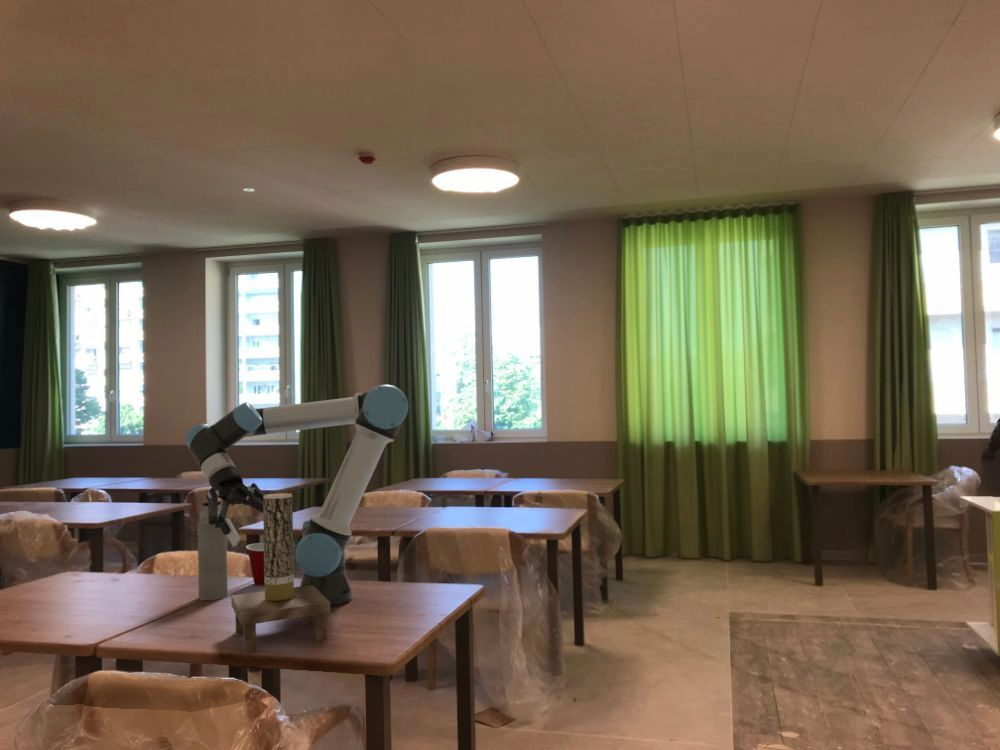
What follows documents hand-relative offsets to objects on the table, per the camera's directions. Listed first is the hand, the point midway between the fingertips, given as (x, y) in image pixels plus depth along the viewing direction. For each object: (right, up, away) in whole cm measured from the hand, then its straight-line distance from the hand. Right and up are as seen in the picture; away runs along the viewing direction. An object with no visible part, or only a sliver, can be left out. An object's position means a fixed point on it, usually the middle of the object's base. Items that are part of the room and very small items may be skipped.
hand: (260, 538), depth 186 cm
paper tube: (+6, -14, -4) cm, 15 cm away
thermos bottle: (-26, -25, +36) cm, 51 cm away
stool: (+6, -23, -4) cm, 24 cm away
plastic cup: (-15, -26, +52) cm, 60 cm away
